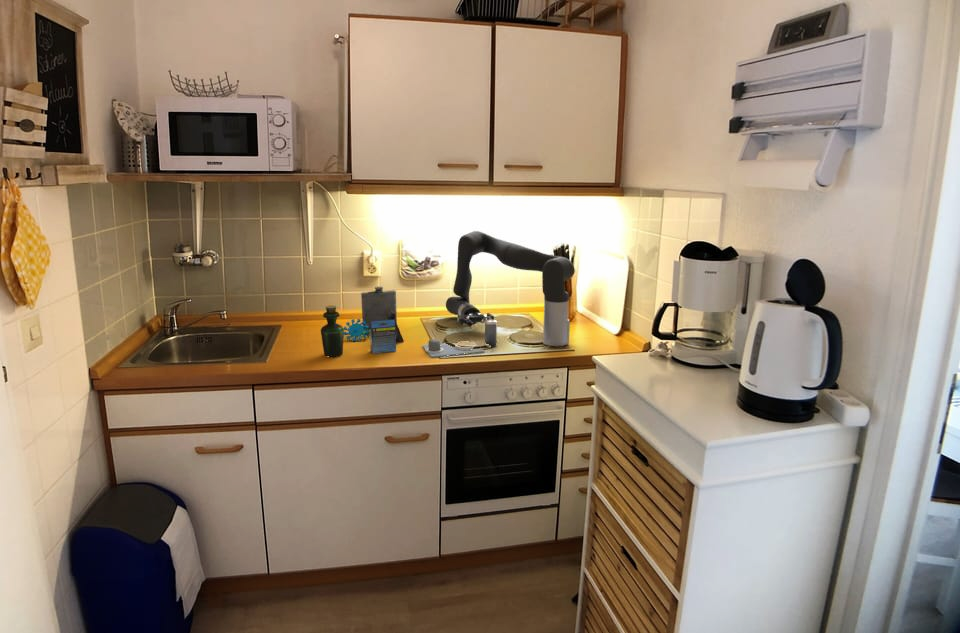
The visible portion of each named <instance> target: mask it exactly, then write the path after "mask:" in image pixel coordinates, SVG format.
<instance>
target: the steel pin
mask: <svg viewBox="0 0 960 633" xmlns="http://www.w3.org/2000/svg"><path fill="white" fill-rule="evenodd" d="M497 324H498V320H496V319H495V318H494V319H488V320H487V319H486V320H485V323H484V344H485V343H486V344H489V345H491V348H490V349H493V348H497V330H498V328H497V327H498V326H497Z"/></svg>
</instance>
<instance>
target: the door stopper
mask: <svg viewBox="0 0 960 633" xmlns="http://www.w3.org/2000/svg"><path fill="white" fill-rule="evenodd" d="M389 311H390V312H391V313H390V312H389ZM389 311H388V310H386V311H385V312H384V314H385V318H384V320H395V317H396V316H395V314H394V313H393V312H392V311H391V310H389ZM390 314H391V315H390ZM389 315H390V316H389ZM382 325H387V323H383V324H382ZM395 334H396V344H397V343H398V344H399V343H404V342H405V341H404V338H403V335H402V334H401V331H400V328H399V326H398V323H396V320H395Z"/></svg>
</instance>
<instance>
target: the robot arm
mask: <svg viewBox="0 0 960 633" xmlns="http://www.w3.org/2000/svg"><path fill="white" fill-rule="evenodd" d="M480 253H486V254H489V255H493V256H495V257H496V258H497V259H498V261H499V262H500V263H501V264H503V265H505V266H506V267H509V268H514V269H517V270H521V271H533V272H539V273H540V272H542V273H541V274H542V276H541V278H542V279H541V282H542V285H541V286H542V288H541V289H542V293H543V298H544V300H543V302H544V303H543V304H544V305H543V332H542V344H544V345H545V346H549V347H562V346H566V345H570V329H571V326H570V325H571V320H570V319H569V300H570V295H569V292H568V291H565V286H564V283H565V282H566V281H568V280H570V279H572V277H573V276H574V274H575V271H576V270H575V264H573V262H572V261H571V260H570V259H568V258H566V256H565V257H564V256H559V255H554V254H553V255H552V254H548V253H543V252H540V251H538V250H536V249H532V248H528V247H525V246H523V245H520V244H517V243H512V242H509V241H507V240H502V239H499V238H496V237H495V236H494V237H493V236H491V235H490V234H487V233H484V232H482V231H479V230H474V231H471V232H469V233H465V234H463V235H462V236H461V237H460V238H459V241H458V244H457V260H456V261H457V265H456V266H457V267H456V268H457V269H456V276H455V279H454V280H455V281H454V285H453V289H452V290H453V294H454V295H455V296H450V297H448V298H447V300H446V301H445V308H446V310H447V312H449V313H450V314H452V315H455V316H457V322H458V324H459V325H460V326H463V325H465V326H468V327H470V328H471V327H473V325H476V324H479V323H481V324H485V320H488V319H494V320H495V316H494V314H492V313H490V312H487V313H486V314H485V313H481V311H480V310H479V309H478V308H477V307H476V306H475V305H473V304H471V303H470V290H471V286H472V279H473V277H472V276H473V275H472V272H471V269H470V268H471V267H470V264H471V261H472V258H473V256H476V255H478V254H480Z"/></svg>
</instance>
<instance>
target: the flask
mask: <svg viewBox="0 0 960 633" xmlns="http://www.w3.org/2000/svg"><path fill="white" fill-rule="evenodd" d="M383 289H384V287H383V286H375V287H374V290H371V291H367V292H361V294H360V296H361V297H360V298H361V316H362V318H361V323H362V322H363V321H365V323H366V324H362V326H365V325H368V329H366V328H363V329H365V330H370V329H371V321H383V320H384V318H385V314H384V312H385V311H386V310H388V311H389V310H391V311H392V312H393V313H394V314H395V316H396V317H395V320H396V323H397V322H398V320H397V319H398V318H397V317H398V316H397V313H398V312H397V290H393V289H392V290H383ZM389 312H390V311H389ZM390 313H391V312H390ZM390 315H391V314H390ZM390 315H389V316H390ZM382 324H383V323H382ZM382 324H379V325H382ZM397 324H398V323H397Z"/></svg>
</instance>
